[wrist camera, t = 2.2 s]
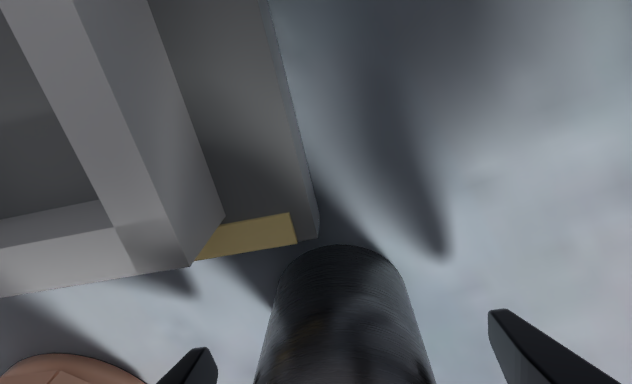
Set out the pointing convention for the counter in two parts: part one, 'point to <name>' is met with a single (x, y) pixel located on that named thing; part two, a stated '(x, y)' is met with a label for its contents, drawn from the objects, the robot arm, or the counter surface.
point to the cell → (342, 323)
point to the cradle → (143, 139)
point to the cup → (65, 371)
